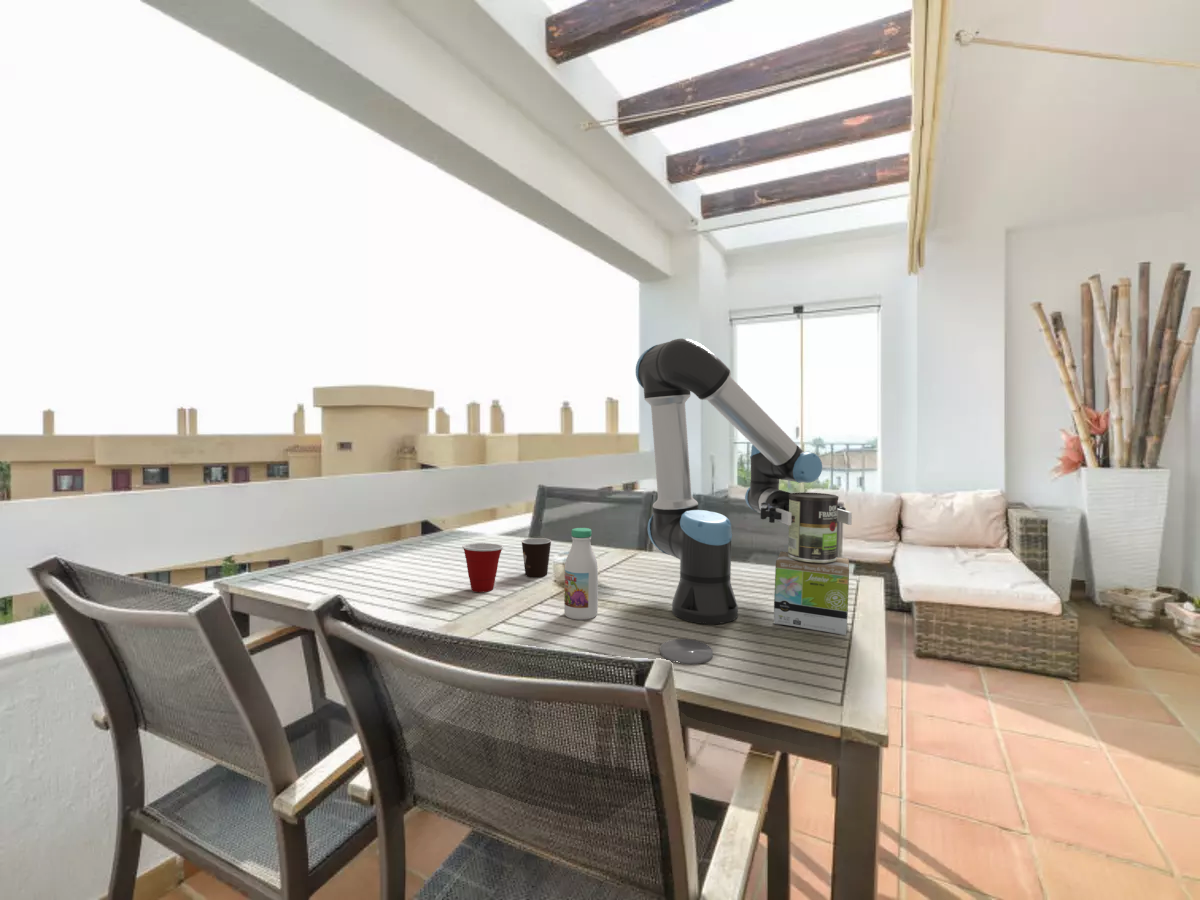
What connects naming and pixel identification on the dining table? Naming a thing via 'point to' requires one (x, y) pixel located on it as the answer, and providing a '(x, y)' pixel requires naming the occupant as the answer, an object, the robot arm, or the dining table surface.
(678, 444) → the robot arm
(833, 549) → the coffee can
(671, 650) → the slate coaster
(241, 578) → the dining table surface
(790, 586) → the tea box
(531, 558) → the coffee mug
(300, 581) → the dining table surface
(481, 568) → the plastic cup
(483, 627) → the dining table surface
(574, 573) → the milk bottle
